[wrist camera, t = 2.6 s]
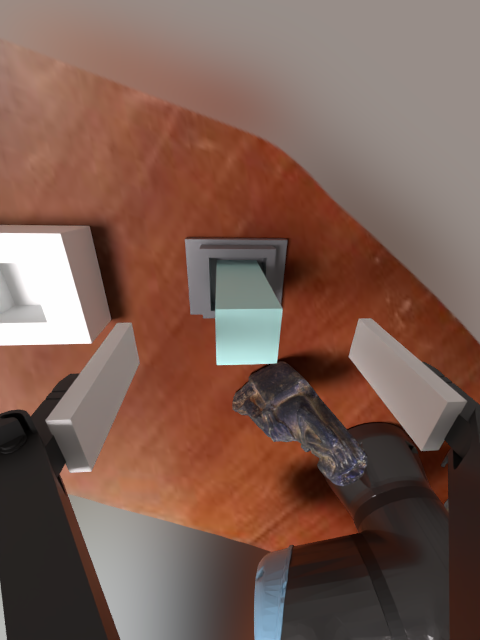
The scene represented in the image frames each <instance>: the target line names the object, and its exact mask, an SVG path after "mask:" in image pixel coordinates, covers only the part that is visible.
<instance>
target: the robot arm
mask: <svg viewBox="0 0 480 640" xmlns="http://www.w3.org/2000/svg"><path fill="white" fill-rule="evenodd" d="M349 358H350V359H351V360H352V362H353V363H354V364H355V366H356V367H357V368H358V369H359V371H360V372H361V373H362V375H363V376H364V377H365V379H366V380H367V381H368V382H369V384H370V385H371V386H372V388H373V389H374V390H375V392H376V393H377V394H378V395H379V397H380V398H381V399H382V401H383V402H384V403H385V405H386V406H387V407H388V408H389V410H390V411H391V412H392V414H393V415H394V416H395V418H396V419H397V420H398V421H399V423H400V424H401V425H402V427H403V428H404V429H405V431H406V432H407V433H408V434H409V436H410V437H411V438H412V440H413V441H414V442H415V444H416V445H417V446H418V447H419V449H420V450H421V451H433V450H439V449H440V447H441V445H442V444H443V442H444V440H445V441H446V442H447V443H448V444H449V445H450V446H451V449H450V450H449V452H448V453H447V455H446V457H445V458H444V460H443V462H442V464H441V466H442V467H445V465H446V464H447V463H448V511H447V509H446V508H445V507H444V505H443V504H442V503H441V501H440V500H439V498H438V497H437V496H436V494H435V493H434V491H433V490H432V488H431V486H430V484H429V481H428V479H427V476H426V473H425V471H424V468H423V465H422V462H421V460H420V457H419V455H418V452H417V449H416V447H415V445H414V444H413V442H412V441H411V440H410V438H409V437H408V436H407V434H406V433H405V432H404V431H403V430H402V429H401V428H399V427H397V426H395V425H392V424H387V423H370V424H364V425H360V426H357V427H354V428H351V429H349V430H348V431H349V433H350V434H351V435H352V436H353V437H354V438H355V440H356V441H357V442H358V443H359V444H360V446H361V447H362V448H363V450H364V451H365V452H366V454H367V456H368V458H367V466H366V467H365V469H364V474H363V476H361V477H360V478H359V479H358V480H357V481H356V482H354V483H353V484H350V485H347V486H339V485H336V484H334V483H332V482H331V480H330V479H328V478H327V477H326V476H325V475H324V474H323V475H324V478H325V480H326V482H327V483H328V485H329V486H330V488H331V489H332V490H333V492H334V493H335V494H336V496H337V497H338V498H339V500H340V501H341V503H342V504H343V505H344V507H345V508H346V509H347V511H348V512H349V513H350V515H351V516H352V518H353V521H354V523H355V525H356V528H357V530H358V533H357V534H352V535H347V536H342V537H338V538H333V539H328V540H323V541H318V542H313V543H308V544H304V545H299V546H294V545H290V546H289V548H286V549H282V550H278V551H275V552H271V553H268V554H267V555H265V556H264V557H263V558H262V560H261V561H260V563H259V566H258V570H257V575H256V584H255V600H254V601H255V602H254V634H255V640H480V405H479V404H478V403H477V402H476V401H474V400H473V399H472V398H471V397H470V396H468V395H467V394H466V393H465V392H464V391H462V390H461V389H460V388H459V387H458V386H456V385H455V384H454V383H453V384H452V381H450V380H449V379H448V378H447V377H445V376H444V375H443V374H442V373H441V372H440V371H438V370H437V369H436V368H434V367H433V366H431V365H429V364H427V363H425V362H421V361H420V360H419V359H418V358H416V357H415V356H414V355H413V354H412V353H411V352H409V351H408V350H407V349H406V348H405V347H404V346H402V345H401V344H400V343H399V342H398V341H397V340H396V339H394V338H393V337H392V336H391V335H390V334H389V333H387V332H386V331H385V330H384V329H383V328H382V327H380V326H379V325H378V324H377V323H376V322H375V321H373V320H372V319H371V318H370V319H359V320H358V323H357V327H356V331H355V335H354V338H353V342H352V346H351V350H350V353H349ZM139 363H140V362H139V357H138V352H137V348H136V343H135V338H134V333H133V328H132V323H117V324H116V325H115V327H114V328H113V329H112V331H111V332H110V334H109V335H108V336H107V338H106V339H105V340H104V342H103V343H102V344H101V346H100V347H99V348H98V350H97V351H96V352H95V354H94V355H93V357H92V358H91V359H90V361H89V362H88V363H87V365H86V366H85V367H84V369H83V370H82V371H81V373H80V374H70V375H68V376H67V377H65V378H64V379H62V380H61V381H60V382H59V383H58V384H57V385H56V386H55V388H54V389H53V390H52V393H50V394H49V395H48V396H47V397H46V400H44V401H43V402H42V404H41V405H40V406H39V407H38V408H37V410H36V411H35V412H34V413H33V415H32V416H31V417H30V415H29V414H28V413H27V412H26V411H24V410H11V411H7V412H4V413H1V414H0V583H1V592H2V600H3V609H4V617H5V625H6V635H7V640H120V637H119V635H118V632H117V629H116V627H115V624H114V621H113V618H112V615H111V613H110V610H109V607H108V605H107V602H106V599H105V596H104V593H103V591H102V588H101V585H100V583H99V580H98V577H97V574H96V571H95V569H94V566H93V563H92V560H91V558H90V555H89V552H88V549H87V547H86V544H85V541H84V539H83V536H82V533H81V530H80V527H79V525H78V522H77V519H76V517H75V514H74V511H73V508H72V506H71V503H70V500H69V497H68V494H67V492H66V489H65V486H64V483H63V481H62V478H61V476H60V472H61V470H62V468H63V466H64V465H65V463H66V465H67V467H68V470H69V472H70V473H72V472H89V471H92V469H93V467H94V464H95V462H96V460H97V458H98V455H99V453H100V451H101V449H102V446H103V444H104V442H105V440H106V437H107V435H108V433H109V431H110V428H111V426H112V424H113V422H114V419H115V417H116V415H117V413H118V410H119V408H120V406H121V404H122V401H123V399H124V397H125V395H126V392H127V390H128V388H129V386H130V383H131V381H132V379H133V377H134V374H135V372H136V370H137V368H138V365H139Z"/></svg>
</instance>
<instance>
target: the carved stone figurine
mask: <svg viewBox="0 0 480 640" xmlns="http://www.w3.org/2000/svg"><path fill="white" fill-rule="evenodd" d="M233 410H234V411H235V412H238V413H240V414H241V415H248V416H249V417H250V418H251V419H252V420H253V421H254V422H255V423H256V425H257V426H258V427H259V428H260V429H262V430H263V431H264V433H265V434H266V435H267V436H268V437H270V438H271V439H272V440H273V441H274V442H275V441H283V442H289V441H298V442H300V443H301V448H303V449H304V451H305V452H308V451H310V450H311V452H312V454H314V455H315V456H317V457H319V458H320V459H319V462H318V464H317V466H318V468H319V470H320V471H321V472H322V473H323V474H324V475H325V476H326V477H327V478H328V479H330V480H331V482H332V483H334V484H336V485H339V486H347V485H350V484H353V483H354V482H356V481H357V480H358V479H359V478H360V477H361V476H363V474H364V469H365V467H366V466H367V458H368V456H367V454H366V452H365V451H364V450H363V448H362V447H361V446H360V444H359V443H358V442H357V441H356V440H355V438H354V437H353V436H352V435H351V434H350V433H349V431H348V430H347V429H346V428H345V427H344V426H343V424H342V423H341V422H340V421H339V420H338V419H337V417H336V416H335V415H334V414H333V413H332V412H331V410H330V409H329V408H328V407H327V406H326V405H325V404H324V402H323V401H322V400H321V399H320V398H319V396H318V395H317V394H316V392H315V391H314V389H313V388H312V387H311V386H310V385H309V383H308V382H307V381H306V380H305V379H304V378H303V377H302V376H301V375H300V374H299V373H298V372H297V371H296V370H295V369H293V368H292V367H291V366H290V365H289V364H287V363H286V362H284V361H281V362H277V363H274V364H271V365H270V366H267V367H265V368H263V369H261V370H259V371H257V372H255V373H254V374H252V375H250V376H249V382H248V383H247V384H246V385H244V386H243V387H242V389H241V390H239V391H238V392H237V393H235V396H234V399H233Z"/></svg>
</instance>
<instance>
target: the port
mask: <svg viewBox="0 0 480 640" xmlns="http://www.w3.org/2000/svg"><path fill="white" fill-rule="evenodd" d="M110 321H111V316H110V312H109V307H108V303H107V299H106V294H105V290H104V286H103V281H102V277H101V273H100V269H99V264H98V260H97V256H96V251H95V247H94V243H93V239H92V234H91V230H90V226H57V225H0V345H38V344H85V343H92V342H93V341H94V340H95V339H96V338H97V336H98V335H99V334H100V333H101V332H102V330H103V329H104V328H105V327H106V326H107V324H108V323H109V322H110Z"/></svg>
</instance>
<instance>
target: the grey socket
mask: <svg viewBox="0 0 480 640" xmlns="http://www.w3.org/2000/svg"><path fill="white" fill-rule="evenodd" d="M185 246H186V259H187V273H188V286H189V299H190V313H191V314H203V318H215V299H216V269H217V260H257V262H258V264H259V266H260V268H261V270H262V272H263V273H264V275H265V277H266V279H267V281H268V283H269V284H270V286H271V288H272V290H273V292H274V294H275V296H276V297H277V299H278V301H279V303H280V305H281V299H282V289H283V279H284V269H285V259H286V249H287V239H285V238H186V239H185Z"/></svg>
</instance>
